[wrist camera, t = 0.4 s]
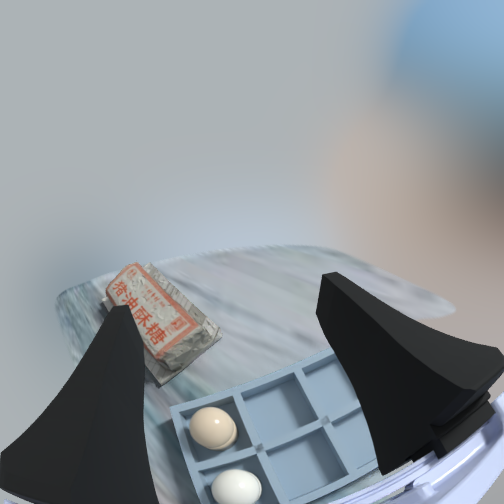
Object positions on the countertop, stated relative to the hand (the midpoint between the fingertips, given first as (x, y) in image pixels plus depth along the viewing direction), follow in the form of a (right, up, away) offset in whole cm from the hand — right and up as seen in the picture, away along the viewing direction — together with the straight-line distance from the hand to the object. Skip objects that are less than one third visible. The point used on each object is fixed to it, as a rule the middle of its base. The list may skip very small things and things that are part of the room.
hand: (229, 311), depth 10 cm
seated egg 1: (-2, -16, +13) cm, 21 cm away
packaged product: (-12, -7, +26) cm, 30 cm away
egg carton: (+5, -16, +13) cm, 21 cm away
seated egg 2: (0, -20, +9) cm, 21 cm away
